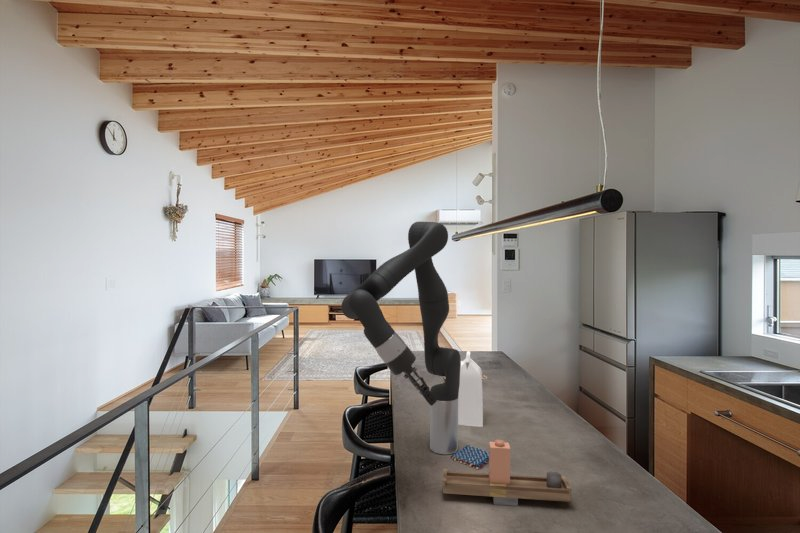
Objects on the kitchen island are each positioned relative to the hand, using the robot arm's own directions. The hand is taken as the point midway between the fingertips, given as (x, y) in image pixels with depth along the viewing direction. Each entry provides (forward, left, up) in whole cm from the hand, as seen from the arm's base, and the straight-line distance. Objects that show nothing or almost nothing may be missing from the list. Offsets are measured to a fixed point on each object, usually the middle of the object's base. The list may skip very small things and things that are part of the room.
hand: (433, 402), depth 115 cm
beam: (+2, +19, -24) cm, 30 cm away
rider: (+2, +17, -20) cm, 26 cm away
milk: (-51, +12, -24) cm, 57 cm away
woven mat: (-19, +12, -24) cm, 33 cm away
